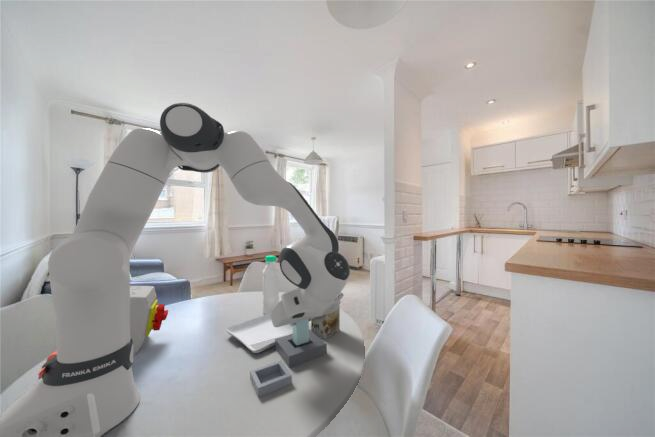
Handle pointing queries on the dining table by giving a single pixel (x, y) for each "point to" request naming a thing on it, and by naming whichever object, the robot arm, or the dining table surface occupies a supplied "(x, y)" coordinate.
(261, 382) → the grey storage bin
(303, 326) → the plug
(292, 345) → the block
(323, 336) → the coffee box
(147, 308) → the electrical switch box
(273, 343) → the salad plate
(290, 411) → the dining table surface
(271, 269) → the water bottle
